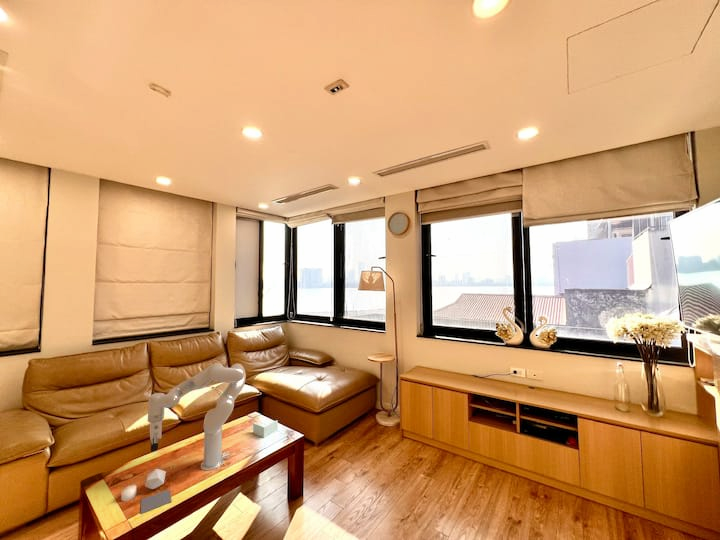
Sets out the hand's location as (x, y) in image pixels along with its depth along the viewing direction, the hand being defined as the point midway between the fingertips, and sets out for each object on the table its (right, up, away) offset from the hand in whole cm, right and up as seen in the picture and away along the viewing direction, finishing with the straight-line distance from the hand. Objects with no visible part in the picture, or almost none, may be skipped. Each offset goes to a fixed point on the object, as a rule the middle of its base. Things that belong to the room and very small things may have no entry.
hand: (154, 450), depth 158 cm
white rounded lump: (-3, -15, -14) cm, 21 cm away
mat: (+13, -14, -17) cm, 26 cm away
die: (+7, -15, -8) cm, 19 cm away
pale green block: (+46, -18, +48) cm, 69 cm away
